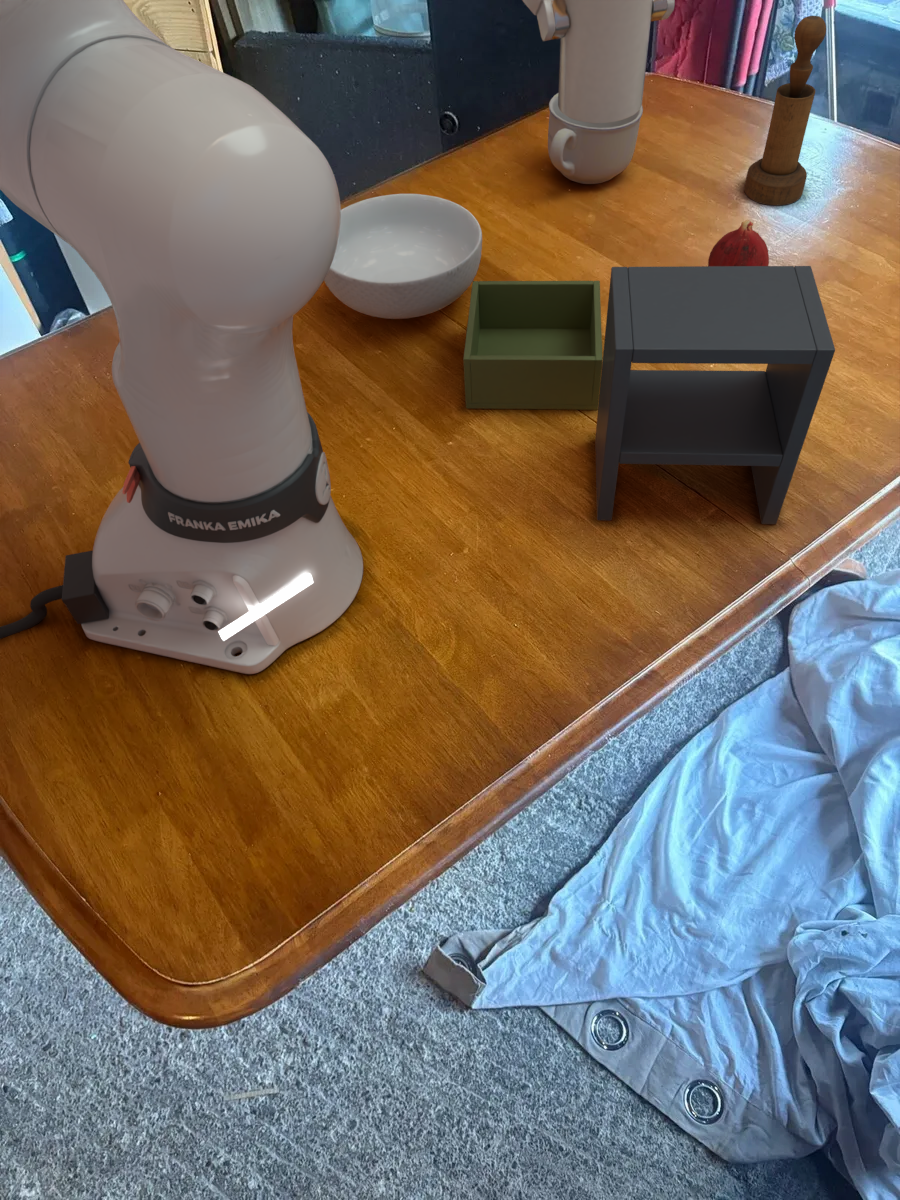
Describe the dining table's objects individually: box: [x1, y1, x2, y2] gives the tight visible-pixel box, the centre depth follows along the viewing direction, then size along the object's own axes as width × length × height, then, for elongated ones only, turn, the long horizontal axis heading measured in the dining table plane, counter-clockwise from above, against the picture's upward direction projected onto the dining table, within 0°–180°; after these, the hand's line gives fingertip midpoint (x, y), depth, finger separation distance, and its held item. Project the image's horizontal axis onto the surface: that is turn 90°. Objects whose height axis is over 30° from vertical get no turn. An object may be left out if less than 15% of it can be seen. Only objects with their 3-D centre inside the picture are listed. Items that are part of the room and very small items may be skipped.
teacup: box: [547, 92, 644, 185], centre depth 105 cm, size 14×11×8 cm
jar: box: [558, 0, 653, 123], centre depth 59 cm, size 6×6×9 cm
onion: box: [707, 219, 770, 266], centre depth 89 cm, size 6×6×8 cm
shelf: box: [594, 265, 836, 525], centre depth 69 cm, size 14×10×17 cm
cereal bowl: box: [323, 193, 483, 320], centre depth 92 cm, size 17×17×7 cm
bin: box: [462, 280, 603, 411], centre depth 84 cm, size 12×12×6 cm
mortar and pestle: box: [743, 15, 827, 206], centre depth 97 cm, size 7×6×18 cm
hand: (609, 25), depth 58 cm, fingers closed on jar, 6 cm apart
